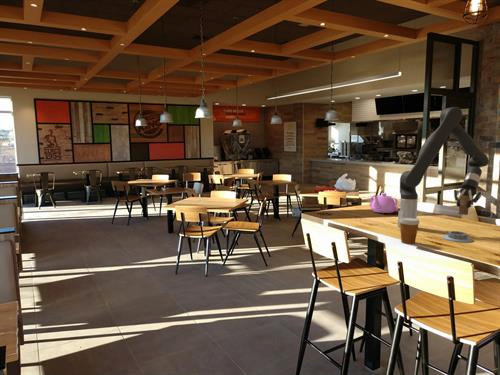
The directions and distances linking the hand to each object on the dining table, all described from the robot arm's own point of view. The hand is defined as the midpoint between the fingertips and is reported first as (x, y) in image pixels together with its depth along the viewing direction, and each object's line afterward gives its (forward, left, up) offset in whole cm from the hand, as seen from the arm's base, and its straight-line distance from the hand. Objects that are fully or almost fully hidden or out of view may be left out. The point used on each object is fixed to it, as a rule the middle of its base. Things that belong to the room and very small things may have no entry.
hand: (463, 206), depth 209 cm
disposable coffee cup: (-37, -17, -16) cm, 43 cm away
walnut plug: (+1, +1, -4) cm, 5 cm away
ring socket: (-8, -10, -16) cm, 20 cm away
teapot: (-19, +68, -16) cm, 73 cm away
